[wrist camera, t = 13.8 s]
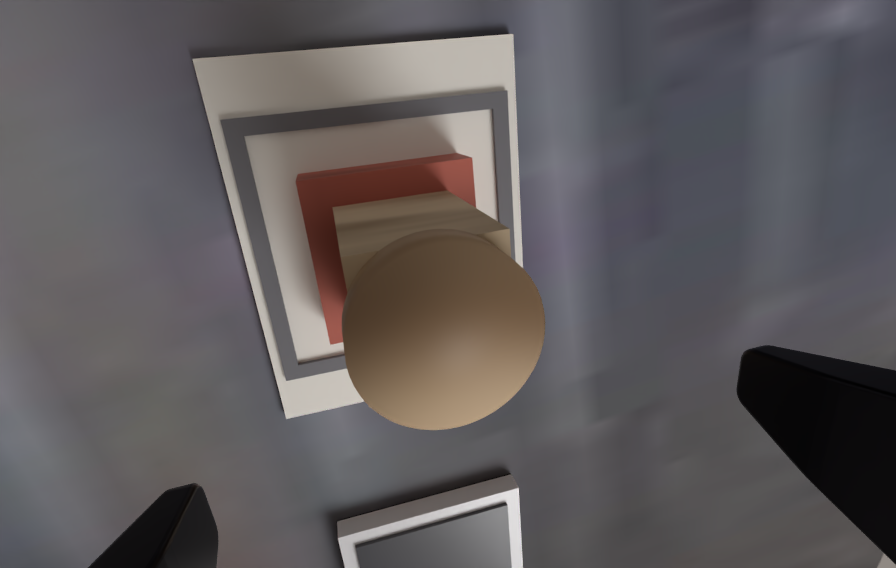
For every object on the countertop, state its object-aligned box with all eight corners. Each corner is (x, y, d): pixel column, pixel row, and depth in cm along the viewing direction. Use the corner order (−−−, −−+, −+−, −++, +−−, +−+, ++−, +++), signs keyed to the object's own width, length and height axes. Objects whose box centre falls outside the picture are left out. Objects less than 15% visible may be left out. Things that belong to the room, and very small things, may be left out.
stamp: (469, 295, 21) (573, 421, 12) (329, 323, 20) (338, 481, 11) (457, 152, 19) (571, 188, 10) (297, 174, 17) (279, 233, 9)
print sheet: (524, 361, 23) (528, 366, 23) (286, 415, 21) (286, 421, 20) (510, 35, 18) (514, 32, 18) (194, 59, 16) (190, 58, 15)
